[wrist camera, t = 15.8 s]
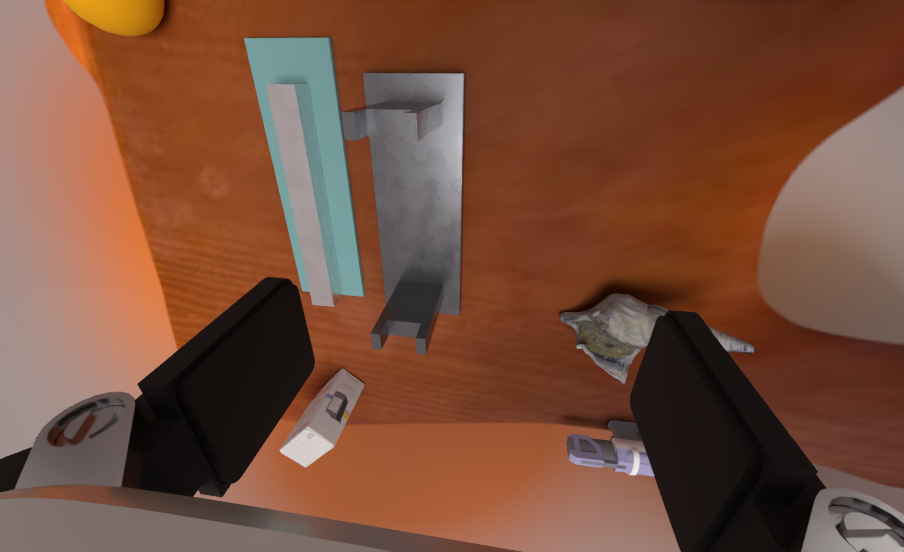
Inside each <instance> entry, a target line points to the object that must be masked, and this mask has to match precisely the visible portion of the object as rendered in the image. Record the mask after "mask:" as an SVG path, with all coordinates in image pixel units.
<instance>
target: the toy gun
mask: <svg viewBox="0 0 904 552" xmlns="http://www.w3.org/2000/svg"><path fill="white" fill-rule="evenodd" d="M608 429H611V431H612V433H613V434H614V436H611V440H610V441H607V440H599V439H592V438H590V437H589V436H585V435H577V434H572V435H570V436H568V438H567V451H568V458H569V460H570V461H571V462H573V463H574V464H579V465H585V466H593V467H601V468H602V466H606V467H613V468H614V470H615V471H618V472H625V473H627V474H628V475H636V474H640V475H648V476H654V474H653V471H652V468H651V465H650V462H649V459H648V456H647V453H646V450H645V448H644V445H643V442H642V439H641V436H640V434H634V432H638V433H639V430H638V427H637V424H636V423H632V422H624V421H615V420H611V421H609V424H608Z"/></svg>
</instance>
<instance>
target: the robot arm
mask: <svg viewBox="0 0 904 552" xmlns="http://www.w3.org/2000/svg"><path fill="white" fill-rule="evenodd" d="M314 364H315V358H314V354H313V350H312V345H311V341H310V337H309V333H308V328H307V324H306V320H305V316H304V311H303V307H302V303H301V299H300V295H299V290H298V287H297V286H296V285H294V284H293V283H292V282H291V280H289V279H285V278H273V277H267V278H265V279H263V280H262V281H261V282H260V283H258V284H257V285H256V286H255V287H254V288H252V289H251V290H250V291H249V292H248V293H246V294H245V295H244V296H243V297H242V298H240V299H239V300H238V301H237V302H236V303H234V304H233V305H232V306H231V307H229V308H228V309H227V310H226V311H225V312H223V313H222V314H221V315H220V316H219V317H217V318H216V319H215V320H214V321H213V322H211V323H210V324H209V325H208V326H207V327H205V328H204V329H203V330H202V331H201V332H199V333H198V334H197V335H196V336H195V337H193V338H192V339H191V340H190V341H189V342H187V343H186V344H185V345H184V346H183V347H181V348H180V349H179V350H178V351H176V352H175V353H174V354H173V355H172V356H170V357H169V358H168V359H167V360H166V361H165V362H163V363H162V364H161V365H160V366H158V367H157V368H156V369H155V370H154V371H152V372H151V373H150V374H149V375H148V376H146V377H145V378H144V379H143V380H142V381H140V382H139V383H138V386H139V388H140V390H141V391H142V393H143V394H142V395H140V396H139V397H138V398H137V399H136V400H135V399H134V398H133V396H131V395H130V394H129V393H124V392H109V393H104V394H100V395H96V396H93V397H90V398H88V399H85V400H83V401H80V402H79V403H76V404H75V405H73V406H71V407H69V408H67V409H65V410H64V411H63V412H61V413H60V414H58V415H57V416H55V417H54V418H53V419H52V420H51V421H49V423H47V424H46V425H45V426H44V427H43V429H42V430H41V431H40V433H39V434H38V436H37V437H36V440H35V442H34V445H33V447H31V448H28V449H25V450H23V451H21V452H18V453H15V454H12V455H10V456H7V457H4V458H2V459H0V552H520V551H514V550H508V549H503V548H497V547H492V546H486V545H480V544H474V543H468V542H462V541H456V540H450V539H444V538H439V537H433V536H427V535H421V534H415V533H409V532H403V531H398V530H392V529H385V528H380V527H374V526H368V525H362V524H356V523H350V522H344V521H338V520H332V519H326V518H320V517H314V516H308V515H302V514H295V513H289V512H283V511H277V510H271V509H265V508H259V507H253V506H246V505H241V504H234V503H228V502H222V501H216V500H210V499H204V498H197V497H193V496H194V495H195V493H196V492H197V491H198V490H199V492H200V494H205V495H211V496H217V497H222V496H223V495H224V494H225V492H226V491H227V489H228V488H229V487H230V485H231V484H232V483H235V482H237V481H238V480H239V479H240V478H241V477H242V475H243V474H244V472H245V471H246V469H247V468H248V466H249V465H250V463H251V462H252V460H253V459H254V457H255V456H256V454H257V453H258V451H259V450H260V448H261V447H262V445H263V444H264V443H265V441H266V440H267V438H268V437H269V435H270V434H271V432H272V431H273V429H274V428H275V426H276V425H277V423H278V422H279V420H280V419H281V417H282V416H283V414H284V413H285V411H286V410H287V408H288V407H289V405H290V404H291V402H292V401H293V399H294V398H295V396H296V395H297V393H298V392H299V391H300V389H301V388H302V386H303V385H304V383H305V382H306V380H307V379H308V377H309V376H310V374H311V373H312V371H313V368H314ZM630 406H631V410H632V413H633V416H634V419H635V422H636V424H637V427H638V430H639V433H640V436H641V439H642V442H643V445H644V448H645V450H646V453H647V456H648V459H649V462H650V465H651V468H652V471H653V474H654V477H655V479H656V482H657V485H658V488H659V490H660V494H661V497H662V500H663V503H664V505H665V508H666V511H667V514H668V517H669V520H670V522H671V526H672V528H673V531H674V534H675V537H676V540H677V543H678V545H679V548H680V550H681V552H904V515H903V514H901V513H900V512H898V511H897V510H895V509H893V508H892V507H890V506H888V505H887V504H885V503H884V502H882V501H879V500H877V499H875V498H873V497H871V496H869V495H866V494H864V493H861V492H858V491H855V490H851V489H848V488H839V487H829V488H826V487H825V486H824V484H823V483H822V482H821V480H820V479H819V478H818V477H817V475H816V473H817V472H818V471H817V470H816V469H815V467H814V466H813V465H812V463H811V462H810V461H809V459H808V458H807V457H806V455H805V454H804V453H803V451H802V450H801V449H800V447H799V446H798V445H797V443H796V442H795V441H794V440H793V438H792V437H791V436H790V434H789V433H788V432H787V430H786V429H785V428H784V426H783V425H782V424H781V422H780V421H779V420H778V418H777V417H776V416H775V414H774V413H773V412H772V410H771V409H770V408H769V407H768V405H767V404H766V403H765V401H764V400H763V399H762V397H761V396H760V395H759V393H758V392H757V391H756V389H755V388H754V387H753V385H752V384H751V383H750V381H749V380H748V379H747V378H746V376H745V375H744V374H743V372H742V371H741V370H740V368H739V367H738V366H737V364H736V363H735V362H734V360H733V359H732V358H731V356H730V355H729V354H728V352H727V351H726V350H725V348H724V347H723V346H722V345H721V343H720V342H719V341H718V339H717V338H716V337H715V335H714V334H713V333H712V331H711V330H710V329H709V327H708V326H707V325H706V323H705V322H704V321H703V319H702V318H701V317H700V316H699V315H698V314H697V313H695V312H685V311H672V310H670V311H667V312H666V314H665V315H664V316H659V317H658V318H657V320H656V322H655V325H654V328H653V331H652V334H651V337H650V340H649V342H648V345H647V348H646V351H645V354H644V357H643V360H642V363H641V366H640V369H639V372H638V374H637V377H636V380H635V383H634V386H633V389H632V392H631V396H630Z"/></svg>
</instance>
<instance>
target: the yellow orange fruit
mask: <svg viewBox="0 0 904 552" xmlns="http://www.w3.org/2000/svg"><path fill="white" fill-rule="evenodd" d="M63 1H64V2H65V3H66V4H67V5H68V6H69V7H70V8H71V9H72V10H73V11H74V12H75V13H76V14H77V15H78V16H80V17H81V18H82V19H84V20H86V21H87V22H89V23H91V24H93V25H95V26H96V27H98V28H100V29H102V30H104V31H107V32H110V33H114V34H119V35H123V36H138V35H144V34H148V33H149V32H151V31H152V30H153V29H155V28H156V27H157V26H158V25H159V23H160V21H161V19H162V17H163V14H164V0H63Z"/></svg>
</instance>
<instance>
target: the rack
mask: <svg viewBox="0 0 904 552" xmlns="http://www.w3.org/2000/svg"><path fill="white" fill-rule="evenodd" d="M363 79H364V89H365V99H366V106H364V107H360V108H355V109H351V110H347V111H343V112H341V114H342V122H343V129H344V137H345V140H359V139H361V138H363V137H366V136H368V135H369V138H370V148H371V158H372V168H373V178H374V188H375V198H376V208H377V218H378V228H379V238H380V248H381V258H382V268H383V278H384V288H385V298H386V306H385V308H384V310H383V312H382V313H381V315H380V317H379V319H378V321H377V323H376V324H375V326H374V328H373V330H372V332H371V341H372V349H382V347H383V345H384V343H385V341H386V339H387V337H388V335H396V336H406V337H416V351H417V353H420V354H426V353H427V349H428V346H429V343H430V340H431V337H432V333H433V330H434V327H435V324H436V321H437V317H438V314H439V313H445V314H456V315H459V314H460V310H461V273H462V223H463V172H464V122H465V74H456V73H363Z"/></svg>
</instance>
